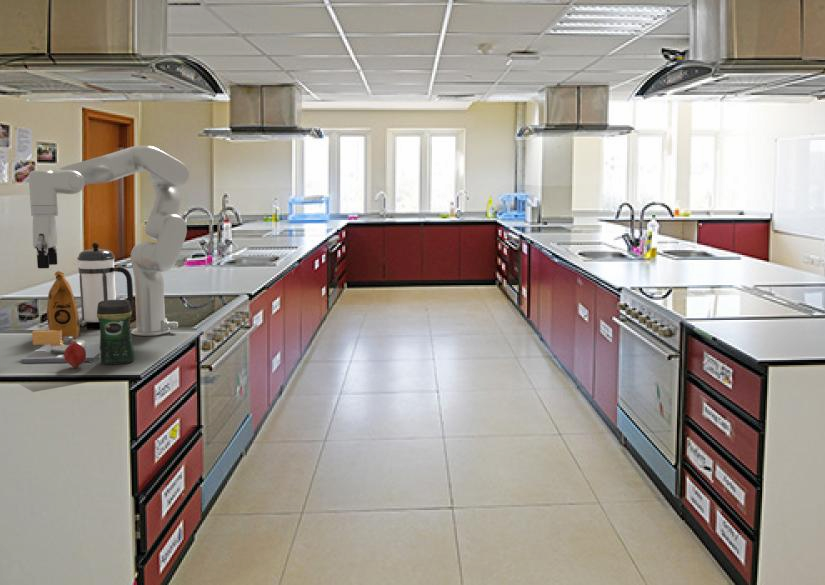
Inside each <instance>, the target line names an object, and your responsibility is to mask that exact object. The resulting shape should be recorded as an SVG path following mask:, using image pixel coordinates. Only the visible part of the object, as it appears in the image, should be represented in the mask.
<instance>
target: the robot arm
mask: <svg viewBox="0 0 825 585" xmlns="http://www.w3.org/2000/svg"><path fill="white" fill-rule="evenodd" d="M140 172H148V178H149V180H150V182H151V184H152V186H153V189H154V192H155V199H154V203H153V205H152V208H151V211H150V213H149V216H148V218H147V221H146V223H145V226H144V228H145V230H144V231H145V234H146V236H147V237H148V238H149V239H152V240H155V241H156V242H152V241H151V242H150V241H142V242H139V243H137V244H135V245H134V246H133V248H132V250H131V252H130V263H131V269H132V271H133V279H134V294H135V295H134V296H135V298H134V299H135V302H134V303H135V320H136V321H135V322H136V327H135V328H133V329H132V330H131V334H132V335H135V336H142V337H143V336H144V337H145V336H147V337H148V336H151V337H153V336H161V335H165V334H168V333H170V332H171V328H173V329H174V328H178V327H179V322H178V321H169V320H168V317H166V314H165V312H166V310H165V308H166V307H165V306H166V305H165V289H164V288H165V287H164V278H163V274H162V273H163V272H164V273H165V272H168V271H170V270H171V269H173V268H174V266H175V264H176V263H177V261H178V259H179V255H180V253H181V250H182V248H183V245H184V242H185V240H186V237H187V232H188V228H187V226H188V225H187V223H186V221H185V219H184V218H183V217H182V216H180V215H178V213H179V210H180V206H181V200H182V199H181V194H180V190H179V187H183V186H184V185H186V184H187V182H188V181H189V180H190V170H189V167H187V165H186V164H185V163H184V162H182V161H180V160H179V159H177V158H175V157H174V156H171V155H170V154H168V153H166V152H164V151H163V150H162V149H161V150H160V149H159V148H157V147H155V146H152V145H136V146H135V145H134V146H130V147H126V148H123V149H121V150H117V151H114V152H111V153H108V154H104V155H100V156H97V157H94V158H90V159H87V160H83V161H79V162H75V163H71V164H68V165H65V166H62V167H58V168H55V169H52V170H44V169H43V170H41V169H39V170H31V171H30V172H29V173H28V187H29V199H30V200H29V202H30V204H29V205H30V216H31V217H33V218H32V247H33V249H36V260H37V261H36V262H37V264H36V265H37V268H38V269H49V268H50V266H53V265H54V266H56V265H58V251H57V250H58V249H57V245H58V235H57V234H58V233H57V223H56V222H57V221H56V217H58V216H59V213H58V195H60V194H61V195H62V194H63V195H75V194H76V195H77V194H78V193H81V192H82V190H83V189H84V187H85V185H86V186H87V185H92V184H93V185H94V184H105V183H110V182H113V181H118V180H119V179H122V178H125V177H128V176H132V175H134V174H137V173H140Z"/></svg>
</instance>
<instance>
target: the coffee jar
mask: <svg viewBox="0 0 825 585" xmlns="http://www.w3.org/2000/svg"><path fill="white" fill-rule="evenodd" d="M132 314H133V311H132V305H131V306H130V302H129V300H128V299H116V300H105V301H100V302H99V303H98V307H97V318H98V320H99V322H98V323H99V333H100V334H99V343H100V357H99V362H100V363H101V364H104V365H121V364H128V363H130V362H131V363H132V362H133V361H134V360H135V350H134V349H135V348H134V344H133V338H132V330H131V318H132Z"/></svg>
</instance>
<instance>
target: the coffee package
mask: <svg viewBox="0 0 825 585" xmlns="http://www.w3.org/2000/svg"><path fill="white" fill-rule="evenodd" d="M54 276H55V279H56V280H55V281H54V283H53V284H52V286H51V287H50V289H49V291H48V296H47V306H46V319H47V326H48V330H62V339H63V337H65V336H73V338H75V339H78V337H79V334H80V332H81V330H80V325H79V322H80V319H79V311H78V306H77V302H76V299H75V296H74V293H73V291H72V287H71V285H70V282H69V281H68V280H67V279H66V278H65V273H64V272H62V271H60V270H58V271H56V272H55V273H54Z"/></svg>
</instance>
